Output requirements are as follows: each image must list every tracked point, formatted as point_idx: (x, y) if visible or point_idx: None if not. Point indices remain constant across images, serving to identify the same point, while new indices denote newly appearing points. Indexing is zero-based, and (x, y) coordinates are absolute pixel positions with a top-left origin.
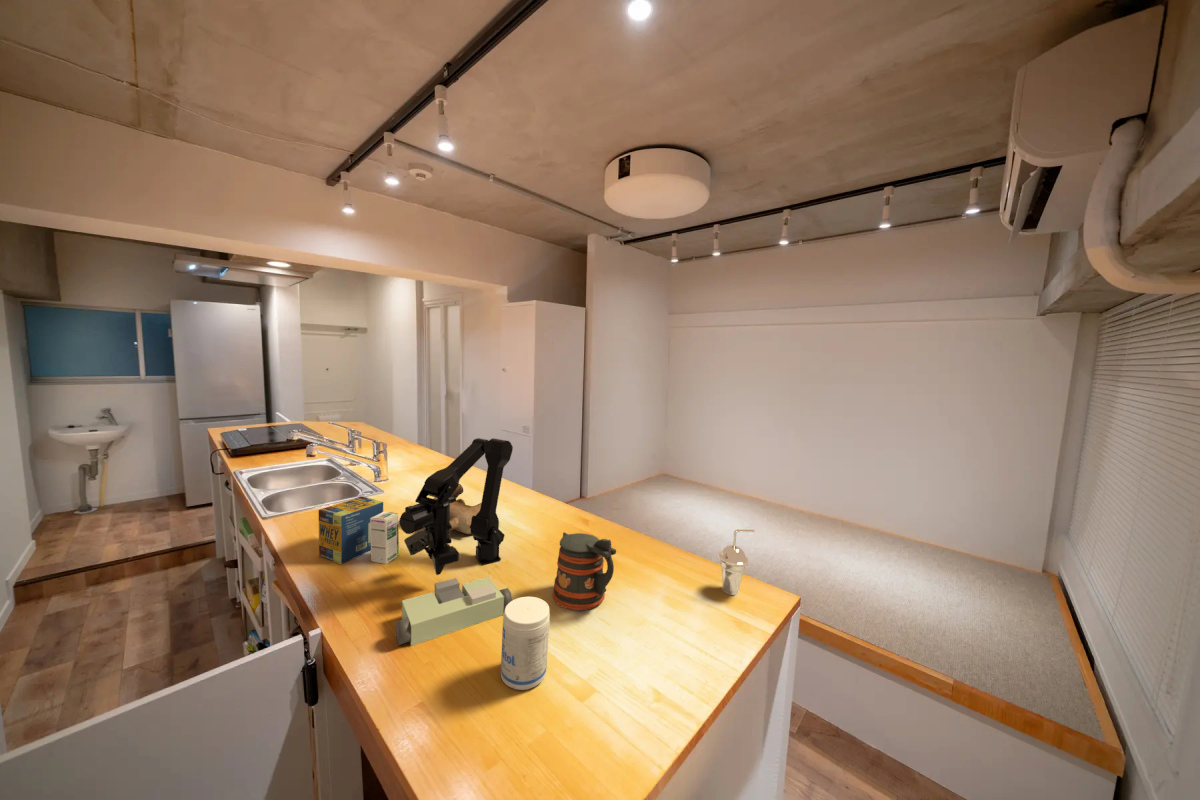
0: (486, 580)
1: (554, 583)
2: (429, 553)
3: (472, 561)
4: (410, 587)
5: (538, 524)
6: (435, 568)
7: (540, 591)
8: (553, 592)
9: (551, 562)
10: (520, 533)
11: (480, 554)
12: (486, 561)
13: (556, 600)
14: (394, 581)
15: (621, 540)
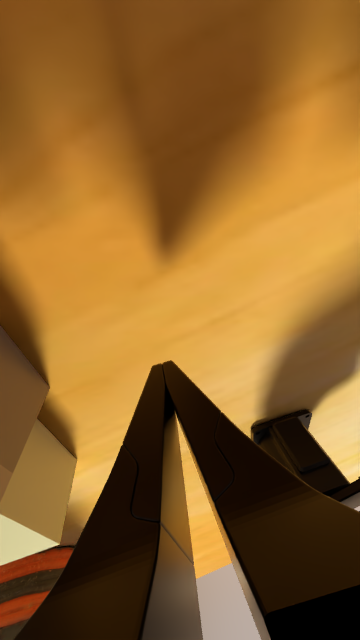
0: (23, 549)
1: (32, 602)
2: (267, 633)
3: (288, 403)
4: (210, 180)
5: (351, 481)
6: (136, 413)
7: (73, 530)
8: (39, 565)
9: (194, 519)
10: (343, 465)
11: (285, 450)
12: (259, 439)
13: (9, 568)
14: (332, 54)
15: (221, 559)
